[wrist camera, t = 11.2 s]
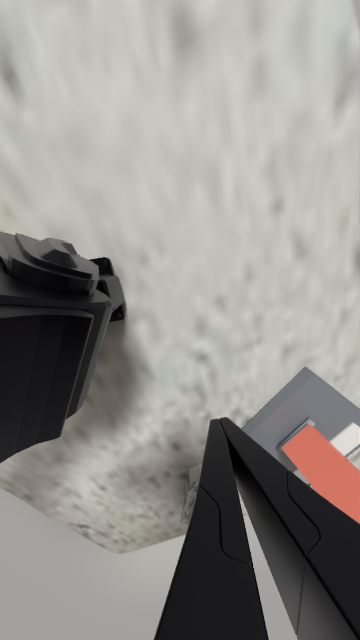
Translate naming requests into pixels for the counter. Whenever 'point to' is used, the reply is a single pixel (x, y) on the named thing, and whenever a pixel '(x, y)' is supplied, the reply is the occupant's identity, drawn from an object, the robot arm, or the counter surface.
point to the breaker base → (306, 417)
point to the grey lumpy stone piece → (190, 493)
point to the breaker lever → (324, 468)
